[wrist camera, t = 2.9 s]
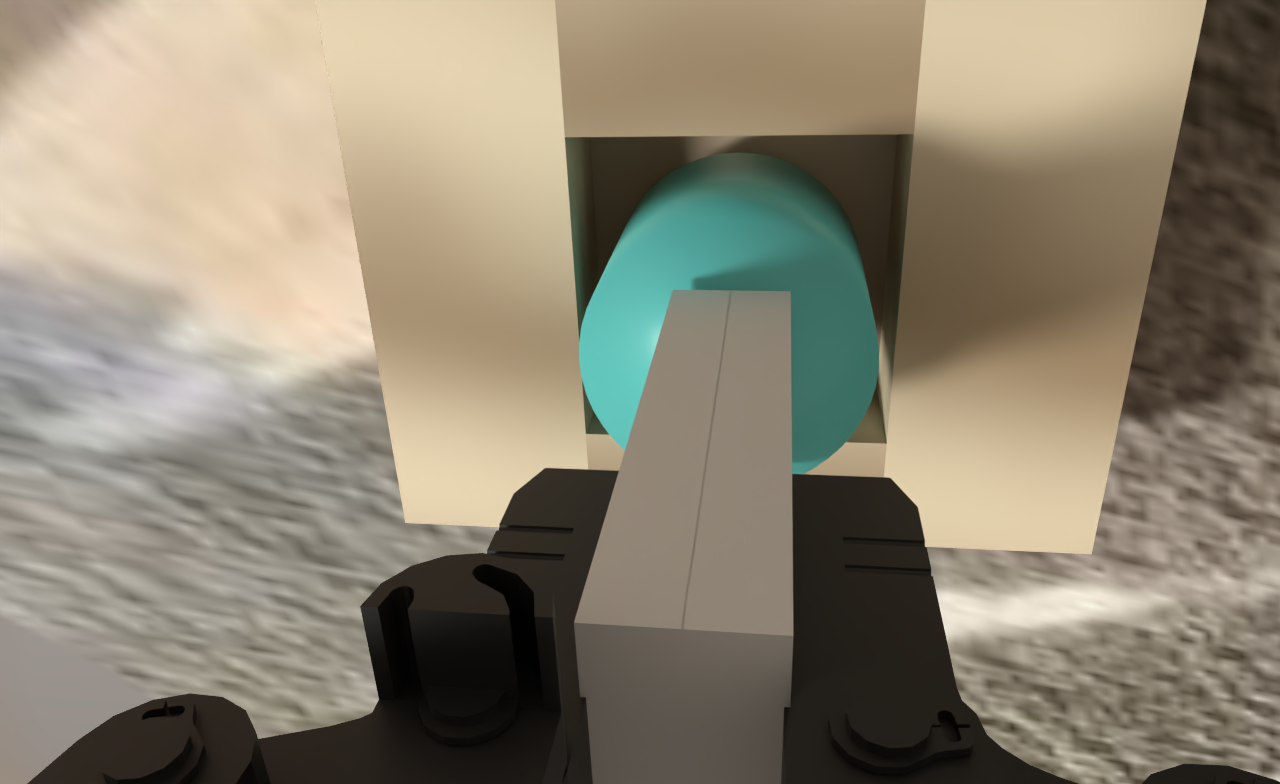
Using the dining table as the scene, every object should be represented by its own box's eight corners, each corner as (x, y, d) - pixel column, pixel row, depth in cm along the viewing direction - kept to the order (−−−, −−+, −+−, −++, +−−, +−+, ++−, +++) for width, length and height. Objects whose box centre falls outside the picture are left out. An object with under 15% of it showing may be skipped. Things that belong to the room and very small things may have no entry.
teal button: (612, 153, 16) (568, 217, 12) (868, 151, 15) (891, 218, 12) (623, 379, 17) (587, 485, 14) (853, 385, 17) (868, 496, 14)
